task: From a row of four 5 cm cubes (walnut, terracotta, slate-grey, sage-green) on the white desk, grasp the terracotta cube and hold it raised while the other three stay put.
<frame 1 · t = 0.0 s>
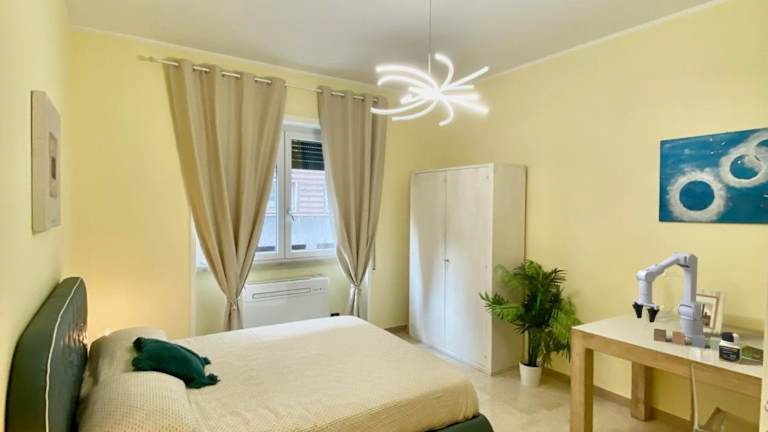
hand: (645, 320, 211), 10 cm above the table, fingers open, 7 cm apart
slate cube: (698, 346, 201), on the table
terracotta cube: (678, 343, 206), on the table
sage cube: (717, 349, 196), on the table
medicine bottle: (730, 360, 182), on the table
walnut cube: (660, 340, 210), on the table
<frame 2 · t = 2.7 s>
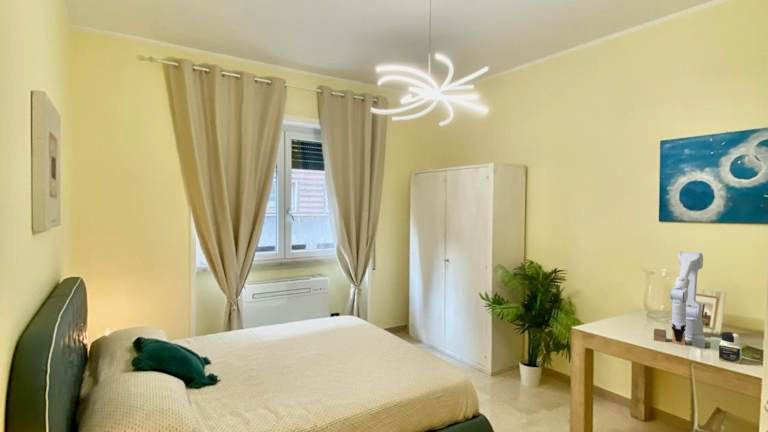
hand: (678, 339, 206), 1 cm above the table, fingers closed on terracotta cube, 5 cm apart
terracotta cube: (678, 342, 206), on the table, touching gripper
everything else where it was.
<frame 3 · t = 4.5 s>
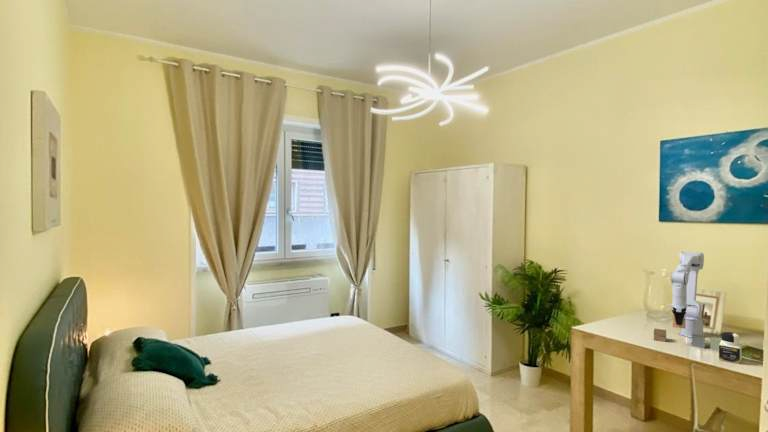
hand: (679, 323, 203), 10 cm above the table, fingers closed on terracotta cube, 5 cm apart
terracotta cube: (679, 326, 203), point 9 cm above the table, touching gripper
everything else where it was.
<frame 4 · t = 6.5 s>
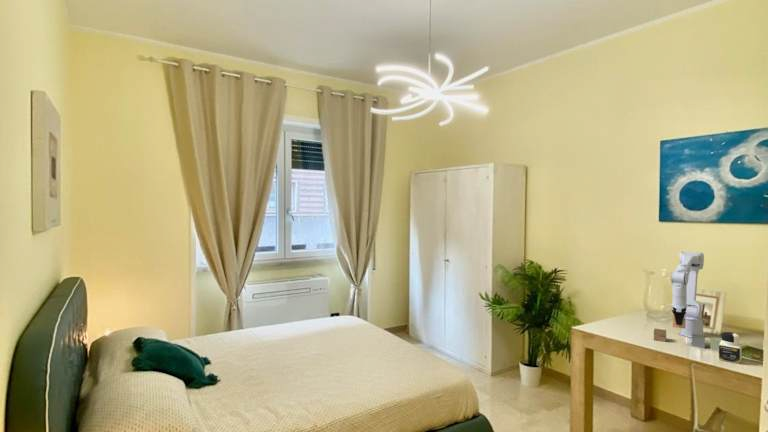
hand: (679, 323, 203), 10 cm above the table, fingers closed on terracotta cube, 5 cm apart
terracotta cube: (679, 326, 203), point 9 cm above the table, touching gripper
everything else where it was.
at the end: the gripper is holding terracotta cube; terracotta cube point 8.8 cm above the table; slate cube moved 0.1 cm from its start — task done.
